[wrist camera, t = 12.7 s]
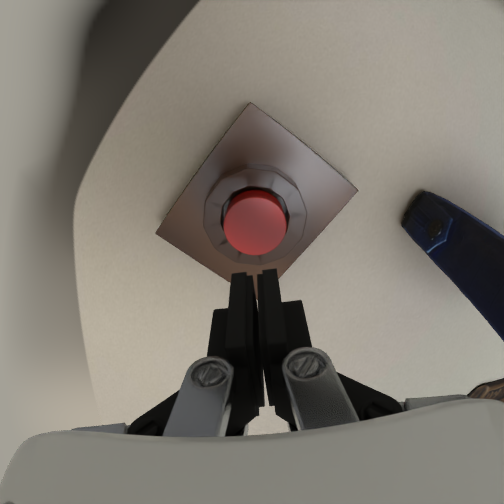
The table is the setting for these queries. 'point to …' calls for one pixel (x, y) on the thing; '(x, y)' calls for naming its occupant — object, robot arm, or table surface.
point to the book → (462, 252)
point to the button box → (255, 178)
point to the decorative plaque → (489, 391)
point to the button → (254, 222)
